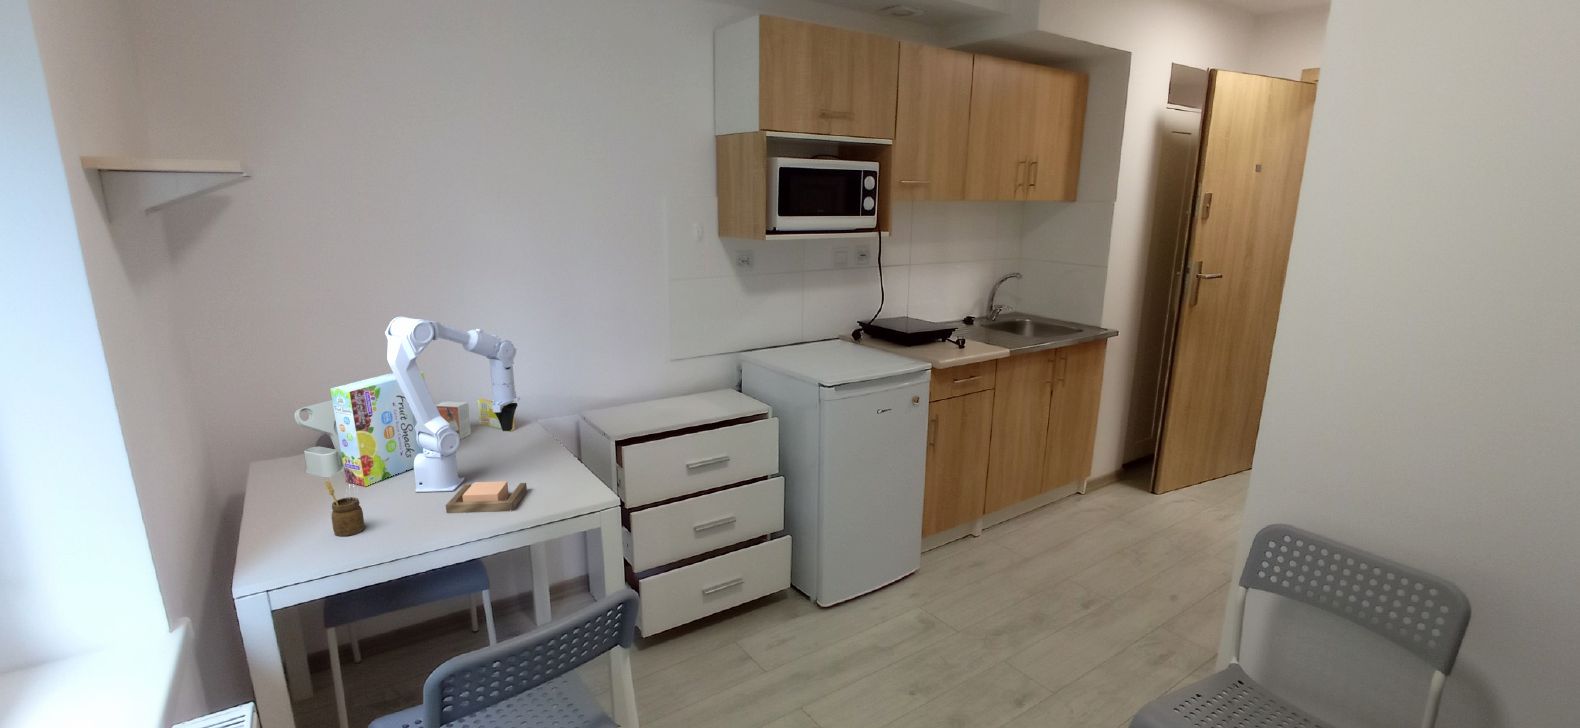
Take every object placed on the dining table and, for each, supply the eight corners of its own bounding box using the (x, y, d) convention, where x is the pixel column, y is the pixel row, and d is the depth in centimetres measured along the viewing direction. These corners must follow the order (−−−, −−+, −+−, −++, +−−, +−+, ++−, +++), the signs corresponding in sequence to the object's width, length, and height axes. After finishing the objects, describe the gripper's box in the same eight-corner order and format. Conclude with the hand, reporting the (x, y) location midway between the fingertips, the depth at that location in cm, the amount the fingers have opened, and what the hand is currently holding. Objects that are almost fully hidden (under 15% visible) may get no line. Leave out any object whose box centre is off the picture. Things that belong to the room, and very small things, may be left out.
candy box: (516, 430, 233) (513, 405, 231) (510, 432, 231) (508, 406, 229) (484, 422, 241) (481, 397, 239) (478, 423, 239) (475, 399, 238)
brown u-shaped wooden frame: (446, 513, 172) (445, 505, 171) (465, 492, 184) (464, 484, 183) (512, 511, 173) (511, 503, 172) (526, 490, 185) (526, 482, 184)
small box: (437, 438, 224) (433, 405, 222) (448, 433, 230) (444, 400, 228) (461, 440, 223) (457, 406, 221) (471, 434, 229) (468, 401, 226)
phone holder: (327, 479, 193) (317, 413, 189) (301, 473, 197) (291, 408, 193) (386, 458, 208) (378, 396, 204) (361, 453, 212) (353, 392, 208)
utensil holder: (357, 536, 160) (349, 484, 157) (327, 537, 159) (318, 485, 157) (370, 524, 166) (363, 474, 163) (341, 525, 165) (333, 475, 162)
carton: (464, 511, 173) (462, 495, 172) (475, 497, 181) (473, 482, 180) (498, 510, 174) (497, 494, 173) (508, 496, 182) (507, 481, 181)
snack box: (415, 456, 209) (405, 368, 204) (437, 460, 206) (427, 371, 200) (342, 482, 190) (328, 386, 184) (364, 488, 187) (351, 390, 181)
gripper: (510, 389, 192) (514, 438, 195) (525, 375, 206) (529, 422, 209) (482, 389, 192) (487, 439, 195) (499, 376, 206) (503, 422, 209)
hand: (507, 430), depth 202 cm, fingers closed
